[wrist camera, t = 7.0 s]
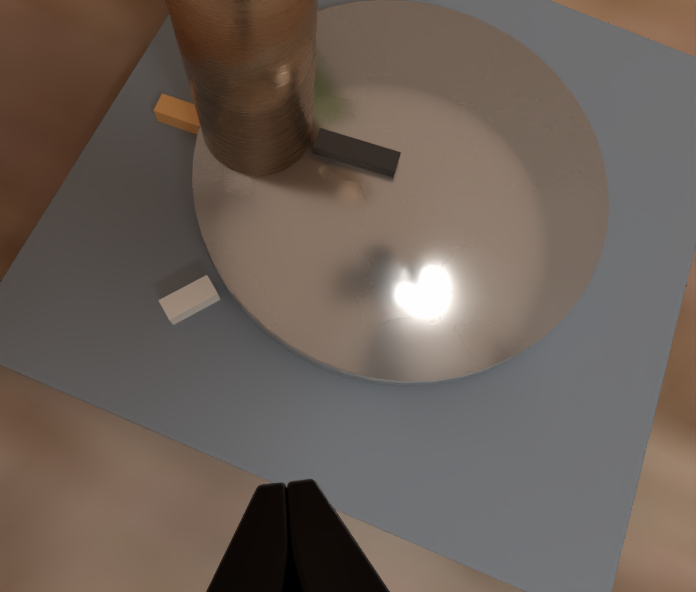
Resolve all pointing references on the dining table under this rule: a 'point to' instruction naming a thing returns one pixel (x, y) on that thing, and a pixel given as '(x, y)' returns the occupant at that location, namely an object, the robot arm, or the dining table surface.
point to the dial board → (376, 399)
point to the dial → (389, 183)
